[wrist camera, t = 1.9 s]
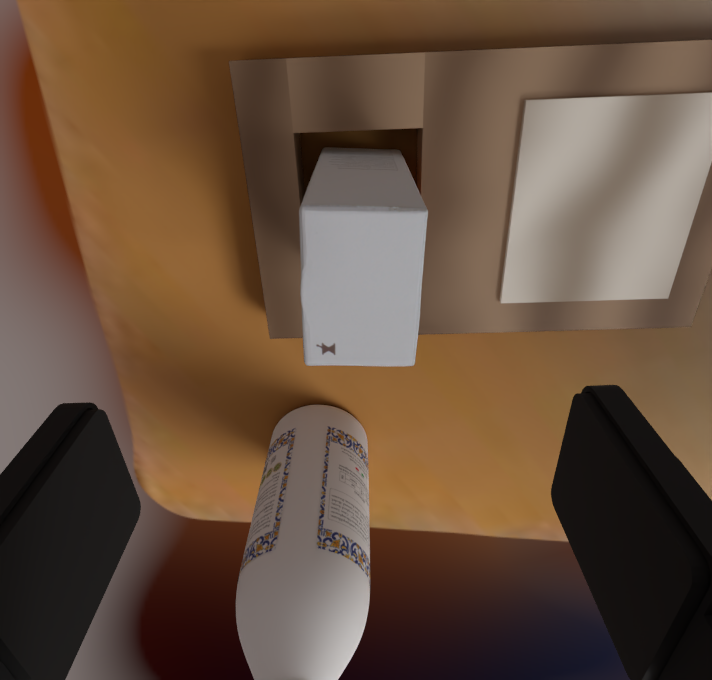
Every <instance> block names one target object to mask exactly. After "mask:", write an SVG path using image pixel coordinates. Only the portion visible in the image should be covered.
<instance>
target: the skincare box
mask: <svg viewBox="0 0 712 680" xmlns="http://www.w3.org/2000/svg"><path fill="white" fill-rule="evenodd" d="M427 217H428V210H427V208H426V206H425V204H424V201H423V199H422V197H421V195H420V193H419V190H418V188H417V186H416V184H415V182H414V179H413V177H412V175H411V173H410V171H409V168H408V166H407V164H406V162H405V160H404V158H403V156H402V154H401V151H400V150H396V149H363V148H331V147H325V148H323V149H322V151H321V154H320V156H319V159H318V162H317V164H316V167H315V169H314V172H313V174H312V177H311V180H310V182H309V185H308V187H307V190H306V193H305V195H304V198H303V201H302V203H301V206H300V209H299V227H300V257H301V287H300V294H301V305H302V327H303V348H304V362H305V364H306V365H307V366H322V365H339V366H413V365H414V364H415V356H416V347H417V339H418V331H419V320H420V306H421V289H422V276H423V265H424V252H425V240H426V228H427Z"/></svg>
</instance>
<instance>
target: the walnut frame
mask: <svg viewBox="0 0 712 680" xmlns="http://www.w3.org/2000/svg"><path fill="white" fill-rule="evenodd" d="M229 66H230V73H231V79H232V86H233V93H234V100H235V106H236V113H237V120H238V127H239V133H240V140H241V147H242V154H243V160H244V167H245V174H246V180H247V187H248V194H249V201H250V207H251V214H252V221H253V228H254V234H255V241H256V248H257V255H258V261H259V268H260V275H261V281H262V288H263V295H264V302H265V308H266V315H267V322H268V329H269V335H270V339H277V338H303V327H302V305H301V294H300V287H301V257H300V227H299V209H300V206H301V203H302V201H303V198H304V195H305V185H304V174H303V163H302V152H301V141H300V133H309V132H334V131H359V130H384V129H410V128H417V163H416V186H417V188H418V190H419V193H420V195H421V197H422V199H423V201H424V204H425V206H426V208H427V210H428V217H427V228H426V240H425V252H424V265H423V276H422V289H421V306H420V320H419V331H418V335H422V334H458V333H494V332H530V331H566V330H602V329H638V328H675V327H691V326H692V323H693V320H694V317H695V314H696V312H697V309H698V306H699V303H700V300H701V298H702V295H703V292H704V289H705V286H706V284H707V281H708V278H709V275H710V272H711V270H712V39H711V40H689V41H666V42H643V43H620V44H598V45H575V46H552V47H530V48H507V49H484V50H461V51H439V52H416V53H393V54H371V55H348V56H325V57H302V58H280V59H257V60H237V61H229Z"/></svg>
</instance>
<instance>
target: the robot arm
mask: <svg viewBox="0 0 712 680" xmlns="http://www.w3.org/2000/svg"><path fill="white" fill-rule="evenodd" d="M551 497H552V502H553V506H554V508H555V511H556V513H557V515H558V518H559V520H560V522H561V524H562V527H563V529H564V531H565V534H566V536H567V538H568V540H569V543H570V545H571V547H572V550H573V552H574V554H575V556H576V559H577V561H578V563H579V565H580V568H581V570H582V572H583V575H584V577H585V579H586V581H587V583H588V586H589V588H590V591H591V593H592V595H593V598H594V600H595V602H596V604H597V606H598V609H599V611H600V613H601V616H602V618H603V620H604V623H605V625H606V627H607V629H608V632H609V634H610V636H611V639H612V641H613V643H614V645H615V648H616V650H617V652H618V654H619V657H620V659H621V661H622V664H623V666H624V668H625V671H626V673H627V675H628V677H629V678H630V679H631V680H712V501H711V499H710V498H709V497H708V496H707V494H706V493H705V492H704V490H703V489H702V488H701V487H700V485H699V484H698V483H697V482H696V480H695V479H694V478H693V477H692V475H691V474H690V473H689V472H688V470H687V469H686V468H685V467H684V465H683V464H682V463H681V461H680V460H679V459H678V458H677V457H676V456H675V455H674V454H673V453H672V452H671V450H670V449H669V448H668V447H667V445H666V444H665V443H664V442H663V440H662V439H661V438H660V436H659V435H658V434H657V433H656V431H655V430H654V429H653V428H652V426H651V425H650V424H649V423H648V421H647V420H646V419H645V417H644V416H643V415H642V414H641V412H640V411H639V410H638V409H637V407H636V406H635V405H634V404H633V402H632V401H631V400H630V398H629V397H628V396H627V395H626V393H625V392H624V391H623V390H622V389H621V388H620V387H619V386H617V385H599V386H586V387H585V388H584V389H583V390H582V393H580V394H575V396H574V397H573V400H572V405H571V409H570V413H569V417H568V421H567V425H566V430H565V434H564V438H563V442H562V446H561V450H560V455H559V459H558V463H557V467H556V471H555V475H554V480H553V484H552V489H551ZM140 508H141V506H140V500H139V497H138V495H137V492H136V490H135V487H134V484H133V482H132V479H131V476H130V474H129V472H128V469H127V466H126V463H125V461H124V459H123V456H122V453H121V451H120V448H119V446H118V443H117V440H116V438H115V435H114V432H113V430H112V427H111V425H110V422H109V420H108V417H107V415H106V413H105V412H104V411H103V410H99V409H98V408H97V406H96V405H95V404H93V403H63V404H60V405H59V406H57V407H56V408H55V409H54V410H53V412H52V413H51V414H50V415H49V417H48V418H47V419H46V420H45V421H44V423H43V424H42V425H41V426H40V427H39V429H38V430H37V431H36V432H35V433H34V435H33V436H32V437H31V438H30V439H29V441H28V442H27V443H26V444H25V445H24V447H23V448H22V449H21V450H20V452H19V453H18V454H17V455H16V456H15V458H14V459H13V460H12V461H11V462H10V464H9V465H8V466H7V467H6V468H5V470H4V471H3V472H2V473H1V474H0V680H65V679H66V677H67V674H68V672H69V670H70V668H71V666H72V664H73V661H74V659H75V657H76V655H77V652H78V650H79V648H80V646H81V644H82V641H83V639H84V637H85V635H86V633H87V630H88V628H89V626H90V624H91V622H92V620H93V617H94V615H95V613H96V611H97V609H98V607H99V604H100V602H101V600H102V598H103V596H104V593H105V591H106V589H107V587H108V585H109V582H110V580H111V578H112V576H113V574H114V572H115V569H116V567H117V565H118V563H119V561H120V558H121V556H122V554H123V552H124V550H125V548H126V545H127V543H128V541H129V539H130V536H131V534H132V532H133V530H134V528H135V525H136V523H137V521H138V518H139V515H140Z"/></svg>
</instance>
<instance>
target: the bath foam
mask: <svg viewBox="0 0 712 680" xmlns="http://www.w3.org/2000/svg"><path fill="white" fill-rule="evenodd" d="M369 598H370V538H369V476H368V443H367V436H366V433H365V430H364V428H363V427H362V425H361V424H360V423H359V421H358V420H357V419H356V418H355V417H353V416H352V415H351V414H349V413H348V412H346V411H344V410H342V409H339V408H336V407H333V406H328V405H308V406H304V407H300V408H297V409H295V410H293V411H291V412H289V413H288V414H286V415H285V416H284V417H283V418H282V419H281V420H280V421H279V422H278V424H277V425H276V427H275V429H274V431H273V434H272V438H271V442H270V447H269V451H268V454H267V458H266V462H265V467H264V471H263V475H262V480H261V484H260V488H259V492H258V497H257V501H256V505H255V509H254V514H253V518H252V522H251V527H250V531H249V535H248V539H247V544H246V548H245V552H244V556H243V561H242V565H241V570H240V574H239V578H238V586H237V596H236V620H237V628H238V633H239V638H240V641H241V645H242V648H243V651H244V654H245V657H246V659H247V662H248V665H249V667H250V670H251V672H252V675H253V677H254V680H338V679H339V677H340V675H341V674H342V672H343V670H344V669H345V668H346V666H347V664H348V663H349V661H350V659H351V658H352V656H353V654H354V652H355V650H356V648H357V646H358V644H359V641H360V639H361V637H362V634H363V631H364V628H365V624H366V620H367V614H368V608H369Z"/></svg>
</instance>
